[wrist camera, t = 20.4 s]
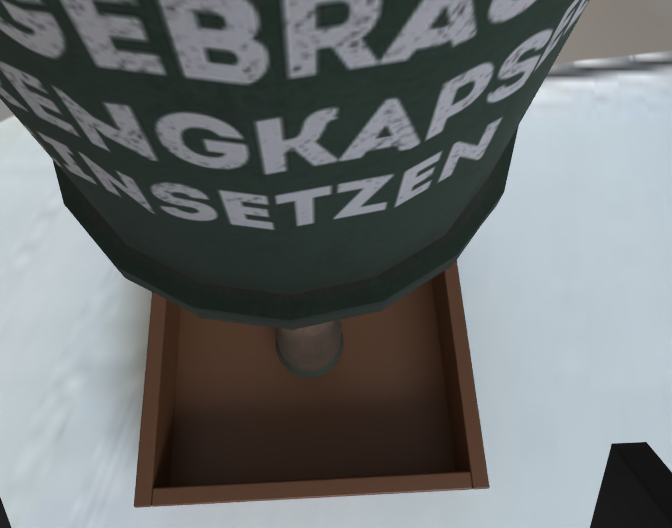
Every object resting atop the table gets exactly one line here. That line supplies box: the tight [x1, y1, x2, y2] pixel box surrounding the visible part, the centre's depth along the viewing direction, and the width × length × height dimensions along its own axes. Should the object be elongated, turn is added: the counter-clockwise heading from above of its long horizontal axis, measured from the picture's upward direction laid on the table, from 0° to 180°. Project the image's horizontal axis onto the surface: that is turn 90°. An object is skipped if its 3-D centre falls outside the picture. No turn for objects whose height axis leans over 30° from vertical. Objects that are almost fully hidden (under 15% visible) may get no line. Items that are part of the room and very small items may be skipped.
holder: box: [134, 260, 489, 507], centre depth 29 cm, size 17×16×4 cm
